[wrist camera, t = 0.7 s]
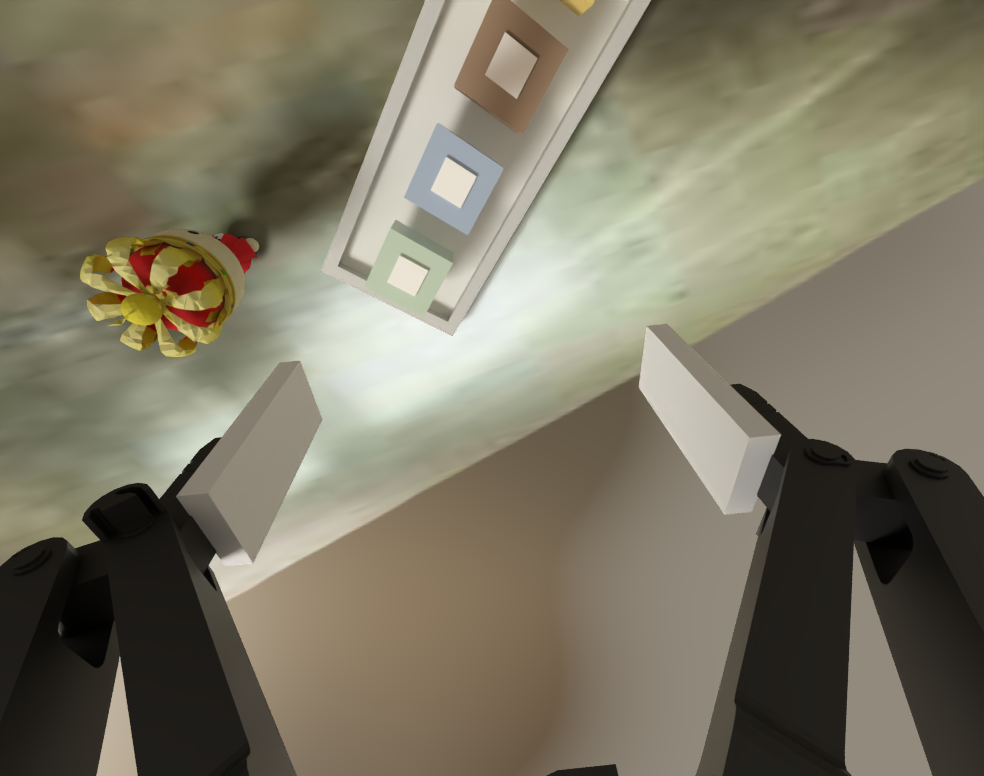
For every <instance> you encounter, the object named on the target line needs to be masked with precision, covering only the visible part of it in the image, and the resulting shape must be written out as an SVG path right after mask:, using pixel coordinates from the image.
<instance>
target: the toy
mask: <svg viewBox="0 0 984 776" xmlns="http://www.w3.org/2000/svg"><path fill="white" fill-rule="evenodd" d="M258 249H259V244H258V242H257V241H256V240H255V239H253V238H245V237H242V236H241V237H234V236H233V235H230V234H225V233H219V234H215V235H213V236H210V235H207V234H204V233H202V232H198V231H195V230H187V229H173V230H166V231H162V232H159V233H156V234H154V235H152V236H151V237H149V238H146V239H140V238H136V237H129V238H118V239H114V240H111V241H109V242H108V243H107V246H106V251H107V254H108V256H100V255H96V254H93V255H92V256H87V258H86V259H85V261H84V263H83V265H82V268H81V273H80V278H81V280H82V282H84V283H87V284H89V285H90V286H91V287H93V288H97V289H100V290H103V291H107V292H105V293H100V294H97V295H95V296H93V297H91V298H89V299H87V305H88V309H89V311H90V312H91V314H92V315H93V317H94V318H95V320H96V321H99V320H103V319H107V318H113V317H117V316H119V315H122V314H123V315H124V317H125V318H124V317H123V319H122V318H121V319H119V320H118V321H116V322H115V321H114V323H112V322H110V323H112V324H110V323H109V324H110V325H108V326H114V325H122V324H123V323H124V321H125V319H127V320H128V321H130V322H132V323H133V324H132V325H131V326H130V327H129V328H128V329H127V330H126V331H125V332H124V333H123V334H122V336H121V339H120V341H121V342H123V343H125V344H126V345H128V346H130V347H132V348H134V349H137V350H139V351H141V350H143V349H146V348H149V347H150V346H151V345H152V344H153V343H154V342H155V340H156V339H157V338H158V341H159V345H160V349H161V352H162V353H163V354H164V355H165V356H171V357H181V356H188V355H190V354H192V353H194V352H196V344H197V341H198V342H202V343H206V344H208V343H210V342H212V341H214V340H216V339H217V337H218V336H219V334H220V333H221V331H222V323H224V322H225V321H226V320H227V319H228V318H229V316H230V315H231V314H232V312H233V311H234V310H235V309H236V307H237V306H238V305H239V303H240V302H241V300H242V297H243V295H244V291H245V277H244V273H245V272H246V271H247V270H248V269H249V268H250V265H251V258H256V257H257V256H256V254H255V252H256V251H257V250H258ZM113 270H115V271H116V272H117V273H118V274H119V275H121V276H122V285H123V286H121V285H119V284H117V283H115V282H113V281H111V280H109V279H108V278H106V277H104V276H102V275H98V274H94V272H95V271H99V272H103V273H111V272H112V271H113ZM166 328H168V329H172V330H177V331H180V332H182V333H184V334H185V338H184V339H182V340H180V341H179V343H178V345H176V344H175V342H174V340H173V339H172V337H171V336H170V334H169V332H168V330H167V329H166Z"/></svg>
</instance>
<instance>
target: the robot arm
mask: <svg viewBox="0 0 984 776" xmlns="http://www.w3.org/2000/svg"><path fill="white" fill-rule="evenodd" d="M639 388H640V390H641V391H642V393H643V394H644V396H645V397H646V399H647V400H648V402H649V403H650V405H651V406H652V408H653V409H654V411H655V412H656V414H657V415H658V417H659V418H660V420H661V421H662V422H663V424H664V425H665V427H666V428H667V430H668V431H669V433H670V434H671V436H672V437H673V439H674V440H675V442H676V443H677V445H678V446H679V448H680V449H681V451H682V452H683V454H684V455H685V457H686V458H687V460H688V461H689V463H690V464H691V466H692V467H693V468H694V470H695V471H696V473H697V475H698V476H699V478H700V479H701V480H702V482H703V483H704V485H705V486H706V488H707V489H708V491H709V492H710V494H711V495H712V497H713V498H714V500H715V501H716V503H717V504H718V506H719V507H720V509H721V510H722V512H723V513H724V514H735V513H745V512H752V510H753V507H754V505H755V502H756V499H757V497H759V498H760V499H761V501H762V502H763V503H764V504H765V506H766V507H767V508H766V511H765V513H764V516H763V518H762V521H761V523H760V526H759V528H758V531H757V533H756V534H757V535H758V539H757V543H756V547H755V551H754V555H753V559H752V563H751V567H750V570H749V575H748V578H747V582H746V586H745V590H744V594H743V598H742V602H741V606H740V609H739V613H738V617H737V621H736V625H735V629H734V633H733V637H732V641H731V645H730V648H729V652H728V656H727V660H726V664H725V668H724V672H723V676H722V680H721V684H720V687H719V691H718V696H717V699H716V703H715V707H714V711H713V715H712V719H711V723H710V726H709V730H708V734H707V738H706V742H705V746H704V750H703V754H702V757H701V761H700V764H699V767H698V770H697V773H696V776H851V775H850V773H849V772H848V771H847V770H846V766H845V732H846V710H847V686H848V662H849V640H850V639H849V638H850V617H851V594H852V570H853V547H854V544H855V547H856V550H857V553H858V556H859V559H860V562H861V565H862V568H863V571H864V574H865V577H866V580H867V583H868V586H869V589H870V592H871V595H872V597H873V600H874V604H875V606H876V609H877V612H878V615H879V618H880V621H881V624H882V627H883V630H884V633H885V636H886V639H887V642H888V645H889V648H890V651H891V654H892V657H893V660H894V663H895V666H896V668H897V672H898V675H899V678H900V680H901V683H902V686H903V689H904V692H905V695H906V698H907V701H908V704H909V707H910V710H911V713H912V716H913V719H914V722H915V725H916V728H917V731H918V734H919V737H920V740H921V742H922V746H923V749H924V752H925V754H926V757H927V760H928V763H929V766H930V769H931V772H932V775H933V776H984V497H983V495H982V494H981V492H980V491H979V490H978V488H977V487H976V485H975V484H974V482H973V481H972V480H971V478H970V477H969V475H968V474H967V473H966V472H965V471H964V470H963V469H962V468H961V467H960V466H958V465H957V464H955V463H953V462H952V461H950V460H948V459H946V458H945V457H942V456H939V455H937V454H934V453H931V452H926V451H922V450H916V449H903V450H898V451H896V452H895V453H894V454H893V455H892V457H891V459H890V460H889V462H888V463H887V464H886V463H878V462H869V461H860V460H855V459H854V458H853V457H852V456H851V455H850V454H849V453H848V452H847V451H845V450H844V449H842V448H840V447H839V446H837V445H834V444H831V443H829V442H826V441H821V440H815V439H808V438H807V437H805V436H804V435H803V434H802V433H801V432H800V431H798V429H797V428H795V427H794V426H793V425H792V424H791V423H790V422H789V421H788V420H787V419H786V418H784V417H783V416H782V415H781V414H780V413H779V412H776V409H775V408H773V407H772V406H771V405H770V404H767V401H766V400H765V399H763V398H762V397H761V396H760V395H759V394H758V393H757V392H755V391H753V390H752V389H750V388H747V387H746V386H743V385H742V384H733V385H729V384H728V383H727V382H726V381H725V380H724V379H723V378H722V377H721V376H720V375H719V374H718V373H717V372H716V371H715V370H714V369H713V368H712V367H711V366H710V365H709V364H708V363H707V362H705V360H704V359H702V357H700V356H699V355H698V354H697V353H696V352H695V351H694V350H693V349H692V348H691V347H690V346H689V345H688V344H687V343H686V342H685V341H684V340H683V339H682V338H681V337H680V336H679V335H678V334H677V333H676V332H675V331H674V330H673V329H672V328H671V327H670V326H669V325H667V324H662V325H652V326H647V328H646V336H645V344H644V351H643V359H642V367H641V374H640V382H639ZM321 421H322V417H321V415H320V412H319V410H318V407H317V404H316V402H315V399H314V396H313V394H312V391H311V388H310V386H309V383H308V381H307V378H306V375H305V373H304V370H303V367H302V365H301V362H300V361H293V362H283V363H279V364H278V366H277V367H276V368H275V369H274V371H273V372H272V373H271V375H270V376H269V377H268V379H267V380H266V381H265V382H264V384H263V385H262V386H261V388H260V389H259V390H258V391H257V393H256V394H255V395H254V397H253V398H252V399H251V400H250V402H249V403H248V404H247V406H246V407H245V408H244V409H243V411H242V412H241V413H240V415H239V416H238V417H237V418H236V420H235V421H234V422H233V424H232V425H231V426H230V427H229V429H228V430H227V431H226V433H225V434H224V435H223V437H220V438H215V439H213V440H212V441H211V442H209V443H208V444H207V445H205V446H204V447H203V448H201V449H200V450H199V451H198V452H197V454H196V455H195V456H194V457H193V459H192V460H191V461H190V464H188V465H187V466H186V467H185V468H184V470H183V471H182V474H180V475H179V476H178V477H177V478H176V479H175V481H174V482H173V483H172V484H171V486H170V487H169V488H168V489H167V491H166V492H165V493H164V494H163V495H162V497H161V498H160V499H159V498H158V497H157V496H156V494H155V493H154V492H153V490H152V489H151V488H150V487H149V486H148V485H147V484H143V483H135V484H129V485H126V486H123V487H120V488H117V489H115V490H113V491H111V492H109V493H107V494H106V495H104V496H102V497H101V498H99V499H98V500H97V501H95V502H94V503H93V504H92V505H91V506H90V507H89V508H88V509H87V510H86V512H85V513H84V516H83V519H82V521H83V522H84V523H85V524H86V525H87V526H88V527H89V528H90V529H91V531H92V532H93V533H94V534H95V535H96V536H97V537H98V538H99V539H100V541H97V542H93V543H90V544H87V545H84V546H81V547H78V548H74V547H73V546H72V545H71V544H70V543H69V542H68V541H67V540H65V539H64V538H54V537H53V538H49V539H46V540H42V541H39V542H37V543H35V544H33V545H30V546H27V547H26V548H24V549H22V550H21V551H19V552H17V553H16V554H14V555H13V556H12V557H11V558H10V559H8V560H7V561H6V562H5V563H4V564H2V565H1V566H0V776H96V774H97V769H98V764H99V759H100V753H101V749H102V743H103V739H104V734H105V728H106V723H107V718H108V713H109V708H110V703H111V698H112V692H113V687H114V683H115V678H116V672H117V667H118V662H119V657H120V658H121V665H122V672H123V678H124V685H125V691H126V698H127V705H128V712H129V718H130V726H131V732H132V739H133V746H134V753H135V759H136V766H137V773H138V776H297V775H296V773H295V770H294V768H293V765H292V763H291V761H290V758H289V756H288V753H287V751H286V748H285V746H284V743H283V741H282V738H281V736H280V734H279V731H278V729H277V726H276V724H275V721H274V719H273V716H272V714H271V711H270V709H269V707H268V704H267V702H266V699H265V697H264V694H263V692H262V689H261V687H260V685H259V682H258V680H257V678H256V675H255V672H254V670H253V667H252V665H251V663H250V660H249V658H248V655H247V653H246V650H245V648H244V645H243V643H242V641H241V638H240V636H239V633H238V631H237V628H236V626H235V624H234V621H233V619H232V616H231V614H230V611H229V609H228V606H227V604H226V601H225V599H224V597H223V594H222V592H221V589H220V587H219V584H218V582H217V579H216V577H215V574H214V572H213V571H212V570H211V568H210V567H209V566H208V565H209V564H210V562H211V560H212V559H213V557H214V555H215V553H216V554H217V555H218V557H219V558H220V559H221V561H222V562H223V564H224V565H225V566H232V565H241V564H251V563H253V562H254V560H255V558H256V556H257V554H258V552H259V550H260V548H261V546H262V544H263V542H264V539H265V537H266V535H267V533H268V531H269V529H270V527H271V525H272V523H273V521H274V519H275V517H276V514H277V512H278V510H279V508H280V506H281V504H282V502H283V500H284V498H285V496H286V494H287V492H288V490H289V487H290V485H291V483H292V481H293V479H294V477H295V475H296V473H297V471H298V469H299V467H300V465H301V462H302V460H303V458H304V456H305V454H306V452H307V450H308V448H309V446H310V444H311V442H312V440H313V438H314V435H315V433H316V431H317V429H318V427H319V425H320V423H321ZM547 776H618V773H617V768H616V765H615V764H613V765H604V766H594V767H585V768H575V769H566V770H558V771H555V772H553V773H551V774H549V775H547Z"/></svg>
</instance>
